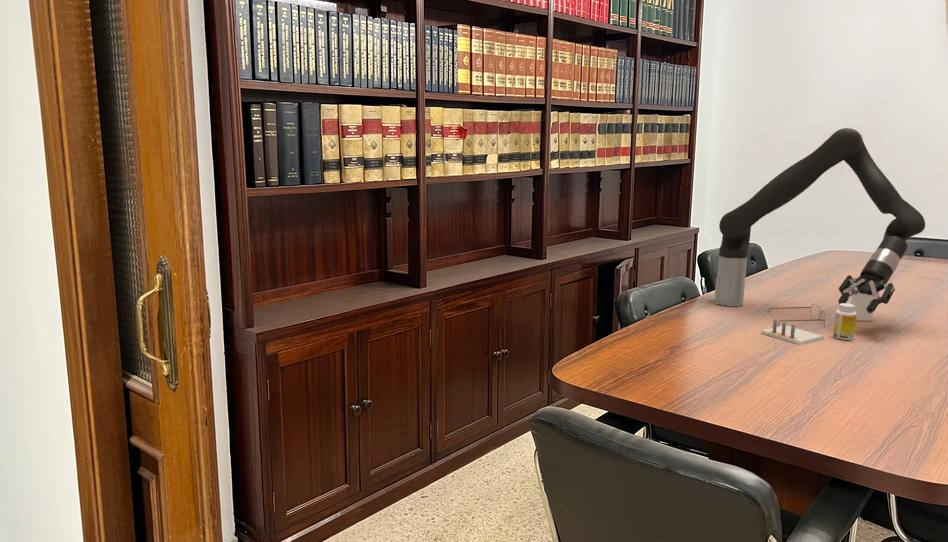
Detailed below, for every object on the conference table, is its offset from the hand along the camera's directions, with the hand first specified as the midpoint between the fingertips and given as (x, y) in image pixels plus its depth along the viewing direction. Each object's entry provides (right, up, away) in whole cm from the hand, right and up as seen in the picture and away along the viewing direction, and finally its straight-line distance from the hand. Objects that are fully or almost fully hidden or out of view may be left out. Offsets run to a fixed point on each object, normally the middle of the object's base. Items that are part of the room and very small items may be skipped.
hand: (854, 308), depth 205 cm
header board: (-17, -8, +2) cm, 19 cm away
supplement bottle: (-3, -9, 0) cm, 10 cm away
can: (+13, -5, +20) cm, 24 cm away
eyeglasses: (-9, -6, +19) cm, 21 cm away
